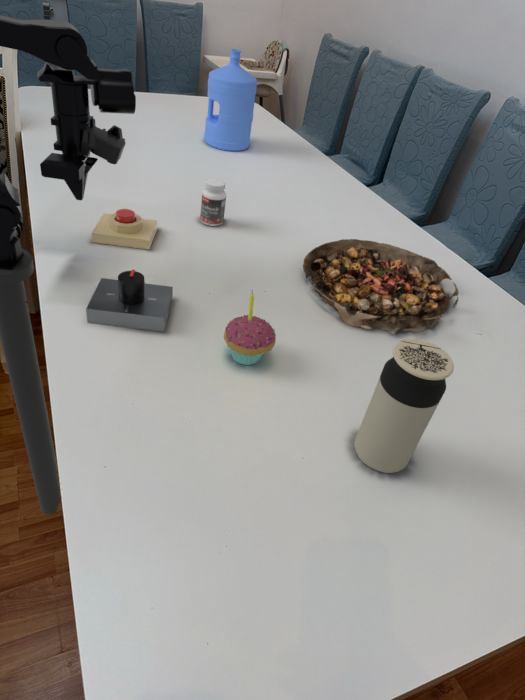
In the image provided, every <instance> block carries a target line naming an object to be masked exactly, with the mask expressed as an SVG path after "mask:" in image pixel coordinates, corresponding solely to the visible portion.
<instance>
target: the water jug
mask: <svg viewBox="0 0 525 700" xmlns="http://www.w3.org/2000/svg"><path fill="white" fill-rule="evenodd" d="M241 53H242V50H239V49H237V48H236V49H235V48H230V55H229V63H228V64H226V65H224V66H221V67H218V68H215V69H213V70H210V71H209V72H208V79H207V97H208V103H207V115H206V117H205V122H204V133H203V140H204V142H205V143H206V144H207V145H208V146H209V147H212V148H215V149H218V150H223V151H228V152H230V151H231V152H240V151H244V150H246V149H248V148H249V146H250V145H251V144H250V143H251V132H252V125H253V121H254V120H253V119H254V109H255V101H256V94H257V89H258V88H257V87H258V86H257V84H258V79H257V78H256V76H255V77H254V76H253V75H252V74H251V73H249V72H248V71H247V70H245V68H243V67H242V66H241V64H240V60H241ZM215 102H217V103H218V106H219V108H218V114H214V104H215Z"/></svg>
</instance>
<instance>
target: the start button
mask: <svg viewBox="0 0 525 700" xmlns="http://www.w3.org/2000/svg"><path fill="white" fill-rule="evenodd" d="M115 213H116V221H117V222H119V223H125V224H128V223H133V222H135V214H136V212H135V211H134V210H132V209H128V208H121V209H117V210H116V211H115Z"/></svg>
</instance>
